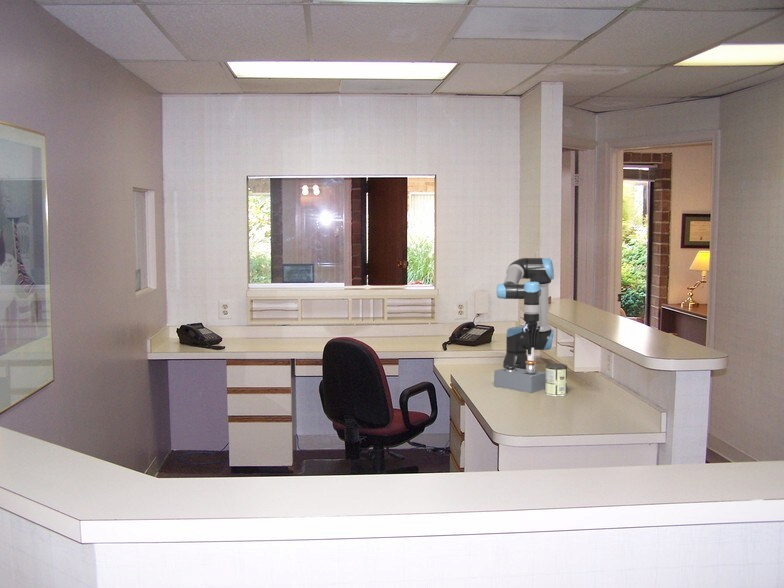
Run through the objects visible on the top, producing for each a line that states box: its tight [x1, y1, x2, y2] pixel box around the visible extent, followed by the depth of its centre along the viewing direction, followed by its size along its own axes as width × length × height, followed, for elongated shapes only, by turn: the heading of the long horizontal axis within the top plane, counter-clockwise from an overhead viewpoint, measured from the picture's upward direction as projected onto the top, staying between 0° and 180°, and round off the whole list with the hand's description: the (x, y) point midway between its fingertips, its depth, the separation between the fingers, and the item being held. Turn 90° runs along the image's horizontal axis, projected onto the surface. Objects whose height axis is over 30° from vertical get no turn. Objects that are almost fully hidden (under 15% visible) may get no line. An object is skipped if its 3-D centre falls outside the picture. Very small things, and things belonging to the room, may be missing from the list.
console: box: [493, 367, 546, 394], centre depth 358 cm, size 14×22×8 cm, turn 46°
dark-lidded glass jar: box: [504, 365, 516, 372], centre depth 363 cm, size 5×5×8 cm
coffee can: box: [544, 363, 568, 398], centre depth 343 cm, size 10×10×14 cm
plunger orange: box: [525, 360, 537, 375], centre depth 354 cm, size 5×5×8 cm
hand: (530, 360), depth 353 cm, fingers closed
